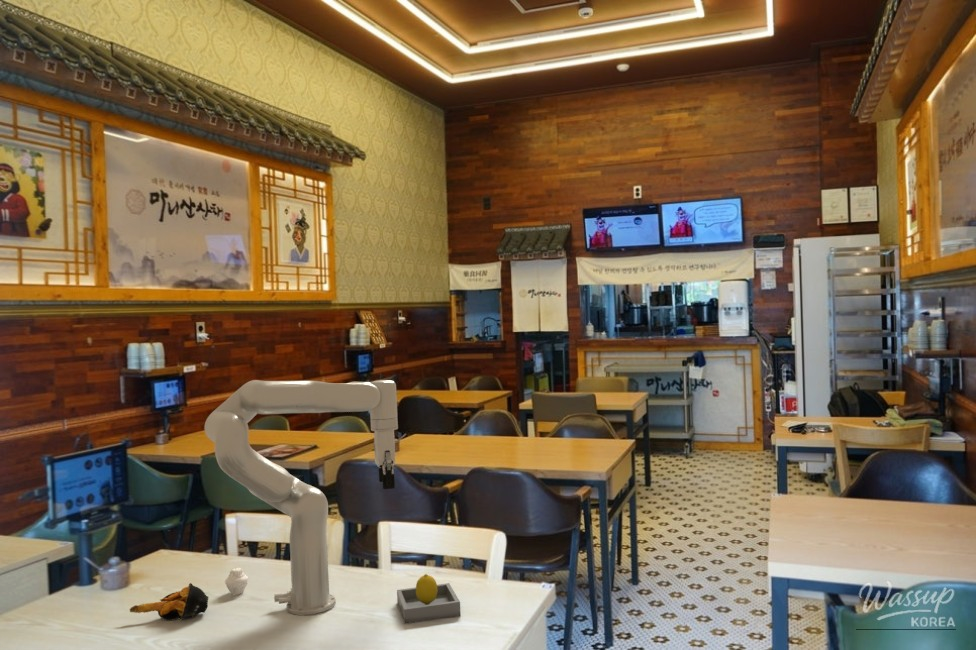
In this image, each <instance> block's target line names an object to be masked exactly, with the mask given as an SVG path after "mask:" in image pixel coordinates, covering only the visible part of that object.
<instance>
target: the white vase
mask: <svg viewBox="0 0 976 650" xmlns="http://www.w3.org/2000/svg"><path fill="white" fill-rule="evenodd" d="M248 582H249V577H248V575H246V574H245V572H244V570H243V568H240V567H235V568H233V569H231V570H230V571H229V574H228V576H227V578H225V580H224V583H225V585H226V588H227V589H228V592H230V594H231V595H233V594H237V595H241V594H243V593H244V592H245V589H246V587H247V585H248ZM240 593H241V594H240Z"/></svg>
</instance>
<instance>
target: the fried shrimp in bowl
mask: <svg viewBox="0 0 976 650" xmlns="http://www.w3.org/2000/svg"><path fill="white" fill-rule="evenodd" d="M208 601H209V596H208V595H207V594H206V593H205V592H204V591H203V589H201V588H200V587H197V586H195V585H193V584H192V582H190V583H189V584H188V586H185V587H183V588H181V590H179V591H175V592H172V593H169V594H168V595H166V596H164V597H163V598H161V599H159V601H156V602H155V601H154V602H148V603H141V604H139V605H133V606H132V607H130V608H129V612H130V613H135V614H136V613H137V614H140V613H149V612H157V614H158V616H159V617H160V619H162V620H164V621H174V620H180V621H181V620H183V619H189V618H190V619H192V618H194V617H196V616H198V615H199V614H201V613H206V611H207V608H208V607H209V606H208V605H209V604H208V603H209V602H208Z"/></svg>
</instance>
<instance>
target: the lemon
mask: <svg viewBox="0 0 976 650" xmlns="http://www.w3.org/2000/svg"><path fill="white" fill-rule="evenodd" d="M437 585H438V584H437V582H436V579H435V578H434V577H433V576H432V575H429V574H427V573H425V574H424V575H422V576H420V577H419V578H418V580H417V581H416V584H415V588H416V596H417V598H418V600H419V601H420V602H422V603H424V604H425V605H429V604H430V603H431V602H433V601H434V600H435V598H436V596H437Z"/></svg>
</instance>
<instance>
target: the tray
mask: <svg viewBox="0 0 976 650" xmlns="http://www.w3.org/2000/svg"><path fill="white" fill-rule="evenodd" d="M396 601H397V606H398V609H399V612H400V614H401V617H402V620H403V623H404V624H406V625H407V624H413V623H414V624H415V623H421V622H427V621H435V620H441V619H448V618H454V617H455V618H456V617H461V615H462V614H461V601H460V599H459V597H458V596H457V594H456V593H455V591H454V588H452V585H451V584H450V582H448V583H440V584H437V596H436V598H435V600H434V601H433V602H431V603H430V604H429V605H425V604H424V603H422V602H420V601H419V600H418V598H417V596H416V587H409V588H402V589H401V588H399V589H397V590H396Z"/></svg>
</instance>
